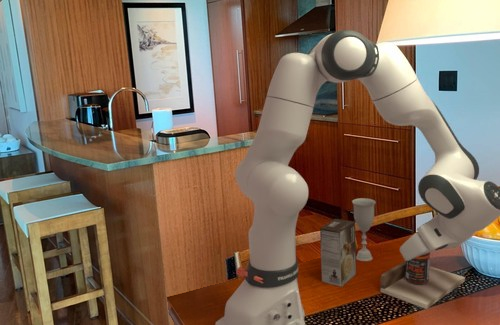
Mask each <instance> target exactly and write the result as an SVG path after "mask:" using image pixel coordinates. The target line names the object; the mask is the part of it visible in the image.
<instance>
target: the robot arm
mask: <svg viewBox="0 0 500 325" xmlns="http://www.w3.org/2000/svg"><path fill="white" fill-rule="evenodd" d="M353 80H358V81H359V82H360V83H362V85H363V86H364V87H365V88H366V89H367V92H368V94H369V96H370V98H371V102H372V103H373V104H374V106H375V108H376V111H377V112H378V114H379V115H380V117H381V118H382V119H383V120H384V121H385V122H387V123H388V124H391V125H393V126H398V127H399V126H400V127H405V126H413V127H415V128H417V129H418V130H420V132H421V134H422V135H423V136H424V138H425V140H426V141H427V143H428V144H429V146H430V148H431V150H432V151H433V152H434V156H435V159H434V164H433V165H432V166H431V167H430V169H429V170H428V171H427V172H425V174H424V176H423V177H422V178H421V179H420V180H419V182H418V184H417V185H418V186H417V188H418V194H419V197H420V198H421V200H422V201H423V202H424V203H425V204H426V205H427V206H428V207H429V208H431V209H432V210H433V211H435V212H436V213H437V214H436V215H435V216H433V217H432V218H431V219H430V220H429V221H427V222H425V223H423V224H421V225H420V226H419V227H417V229H416V230H417V231H416V232H415V233H414V234H413V235H411V236H410V237H409V238H408V239H407V240H405V242H404V243H403V244H402V245H400V247H399V252H400V254H401V255H402V258H403V259H404V261H409V260H411V259H414V258H416V257H419V256H421V255H424V254H426V253H428V252H430V253H431V252H436V251H438V250H443V249H456V248H458V247H460V246H461V245H462V244H464V243H465V242H467V241H468V240H470V239H472V237H473V236H475V233H477V232H479V231H483V230H485V229H486V228H487V227H489V226H490V225H492V224H493V223H494V222H495V221H497V219H499V217H500V186H498V185H497V184H496V183H494V182H493V181H491V180H478V177H479V175H480V166H479V163H478V161H477V160H476V158H475V156H474V155H472V153H471V152H470V151H468V150H467V149H466V148H465V147H464V146H463V145H462V143H461V142H460V141H459V139H458V137H457V136H456V135H455V133H454V131H453V130H452V128H451V126H450V124H449V123H448V122H447V120H446V118H445V117H444V115H443V113H442V111H440V109H439V106H437V105H436V103H435V102H434V101H433V100H432V99H431V98H430V97H429V96H428V94H427V93H426V91H425V89H424V88H423V86H422V84H421V81H420V80H419V78H418V76H417V75H416V73H415V70H414V69H413V67H412V65H411V64H410V62H409V61H408V59H407V58H406V56H405V55H404V53H403V52H402V51H401V50H400V48H399V47H398V46H397V45H396V44H394V43H393V42H390V41H389V42H388V41H384V42H383V41H382V42H378V43H374V42H373V41H371V40H370V39H369V38H367V37H366V36H364V35H363V34H362V33H360V32H358V31H356V30H351V29H343V30H337V31H336V32H334V33H330V34H328V35H326V36H324V37H323V38H322V39H321V40H320V41H318V42H317V43H316V44H314V46H313V47H312V48H311V49H310V50H309V51H308V52H307V54H306V53H302V52H301V53H300V52H291V53H287V54H285V55H283V56H282V57H281V58H280V60H279V61H278V64H277V66H276V68H275V70H274V73H273V76H272V78H271V80H270V83H269V87H268V90H267V93H266V97H265V101H264V104H263V109H262V113H261V116H260V119H259V124H258V127H257V131H256V133H255V136H254V137H253V140H252V142H251V144H250V146H249V148H248V150H247V152H246V154H245V156H244V158H242V159H241V161H239V163H238V164H237V166H236V169H235V172H234V173H235V174H234V177H235V182H236V184H237V186H238V188H239V190H240V191H241V193H242V194H243V195H244V196H246V197H247V198H249V199H250V201H252V203H253V206H254V208H253V209H254V212H253V219H252V225H251V226H250V228H249V229H248V235H247V236H248V249H249V252H248V253H249V260H248V264H247V267H246V269H245V268H243V267H242V266H239V267H238V268H237V269H236V272H235V273H236V275H238V276H240V277H241V278H244V280H243V281H242V282H241V284H240V285H239V286H238V288H236V290H235V291H234V292H233V294H232V295H231V296H230V297H229V298H228V300H227V301H226V303H225V307H224V316H222V317H221V318H219V319H218V320H217V321H215V324H214V325H306V321H305V316H306V315H305V314H306V312H305V310H304V307H303V303H302V301H301V294H300V289H299V283H298V277H299V265H298V264H299V263H298V259H297V257H296V256H297V254H296V250H297V249H296V228H297V223H298V222H297V221H298V218H299V213H300V212H301V211H302V210H303V208H304V207H305V206H306V204H307V201H308V200H309V186H308V184H307V182H306V181H305V179H304V178H303V176H302V175H301V174H300V173H299V172H298V171H296V170H295V169H294V168H292V167H291V166H289V164H290V161H291V160H292V157H293V155H294V153H295V152H296V151H297V149H298V148H299V147H300V146H301V145H303V143H304V142H305V141H306V138H307V135H308V131H309V127H310V122H311V120H312V115H313V111H314V107H315V102H316V99H317V94H318V93H319V92H320V91H319V90H320V89H321V87H322V85H323V84H328V83H329V84H333V83H334V84H335V83H337V84H341V83H345V82H349V81H353Z"/></svg>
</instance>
